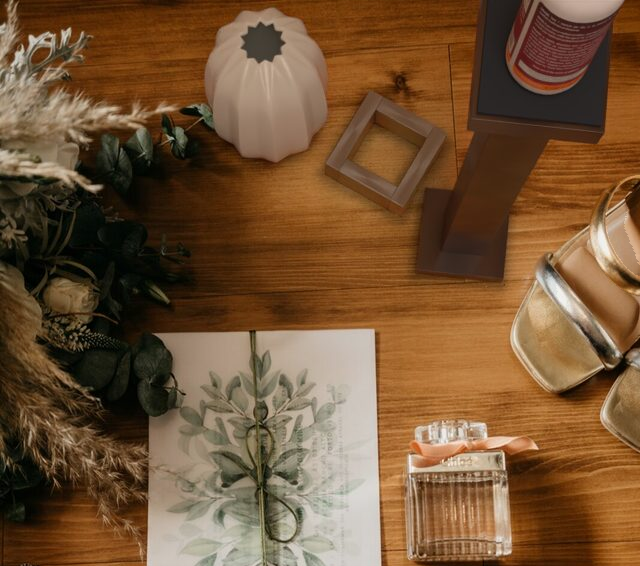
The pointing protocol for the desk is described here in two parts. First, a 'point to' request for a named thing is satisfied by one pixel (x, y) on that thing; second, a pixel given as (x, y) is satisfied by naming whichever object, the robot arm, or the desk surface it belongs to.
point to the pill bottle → (557, 41)
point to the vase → (266, 85)
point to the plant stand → (488, 184)
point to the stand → (400, 124)
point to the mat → (517, 102)
